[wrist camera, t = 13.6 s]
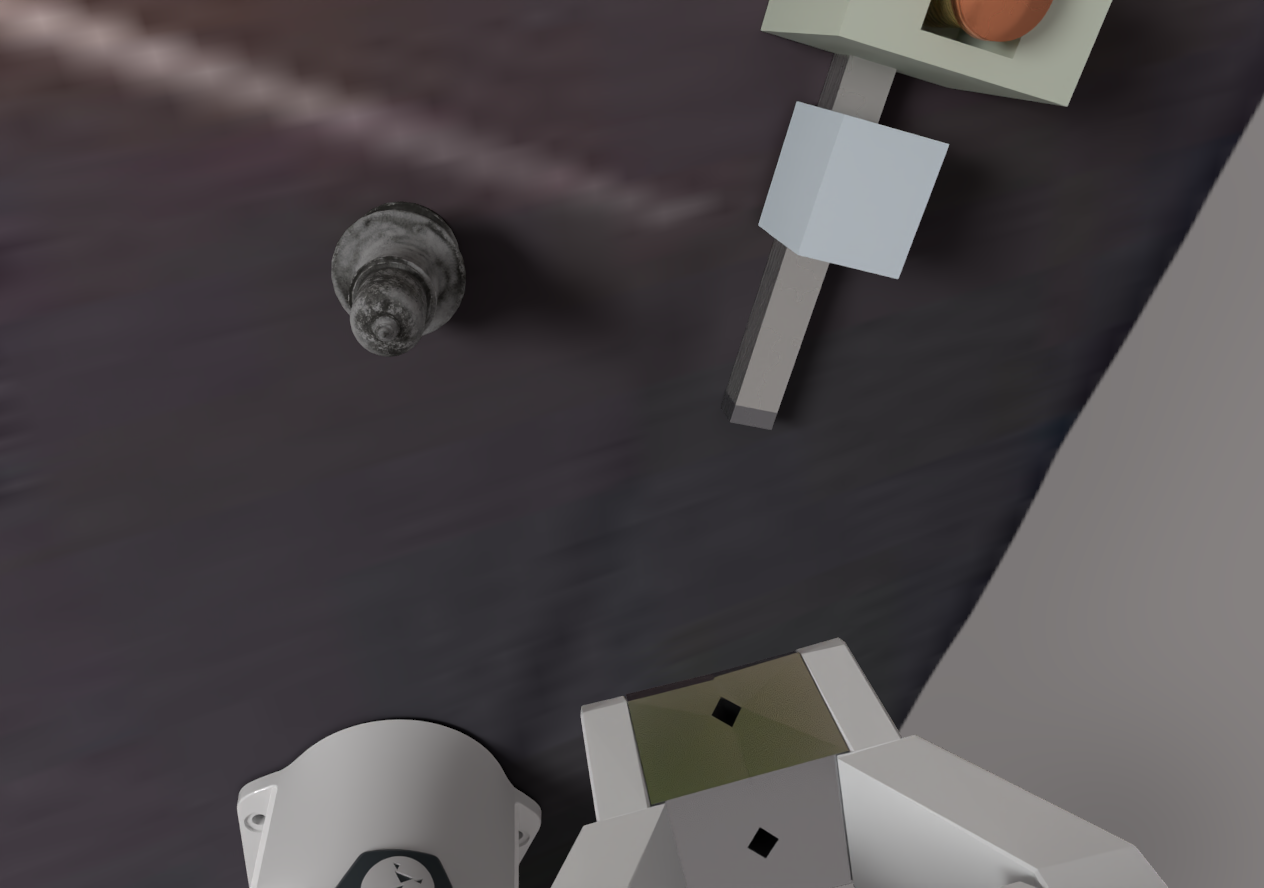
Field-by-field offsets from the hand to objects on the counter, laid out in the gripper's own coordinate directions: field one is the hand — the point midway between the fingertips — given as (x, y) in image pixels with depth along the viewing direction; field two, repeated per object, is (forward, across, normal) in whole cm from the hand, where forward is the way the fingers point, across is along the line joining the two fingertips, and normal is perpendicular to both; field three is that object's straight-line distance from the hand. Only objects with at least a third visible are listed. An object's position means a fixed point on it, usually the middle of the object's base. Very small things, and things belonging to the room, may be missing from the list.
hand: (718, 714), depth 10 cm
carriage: (+37, -14, +3) cm, 40 cm away
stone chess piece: (+37, +7, +2) cm, 38 cm away
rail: (+37, -13, +6) cm, 40 cm away
